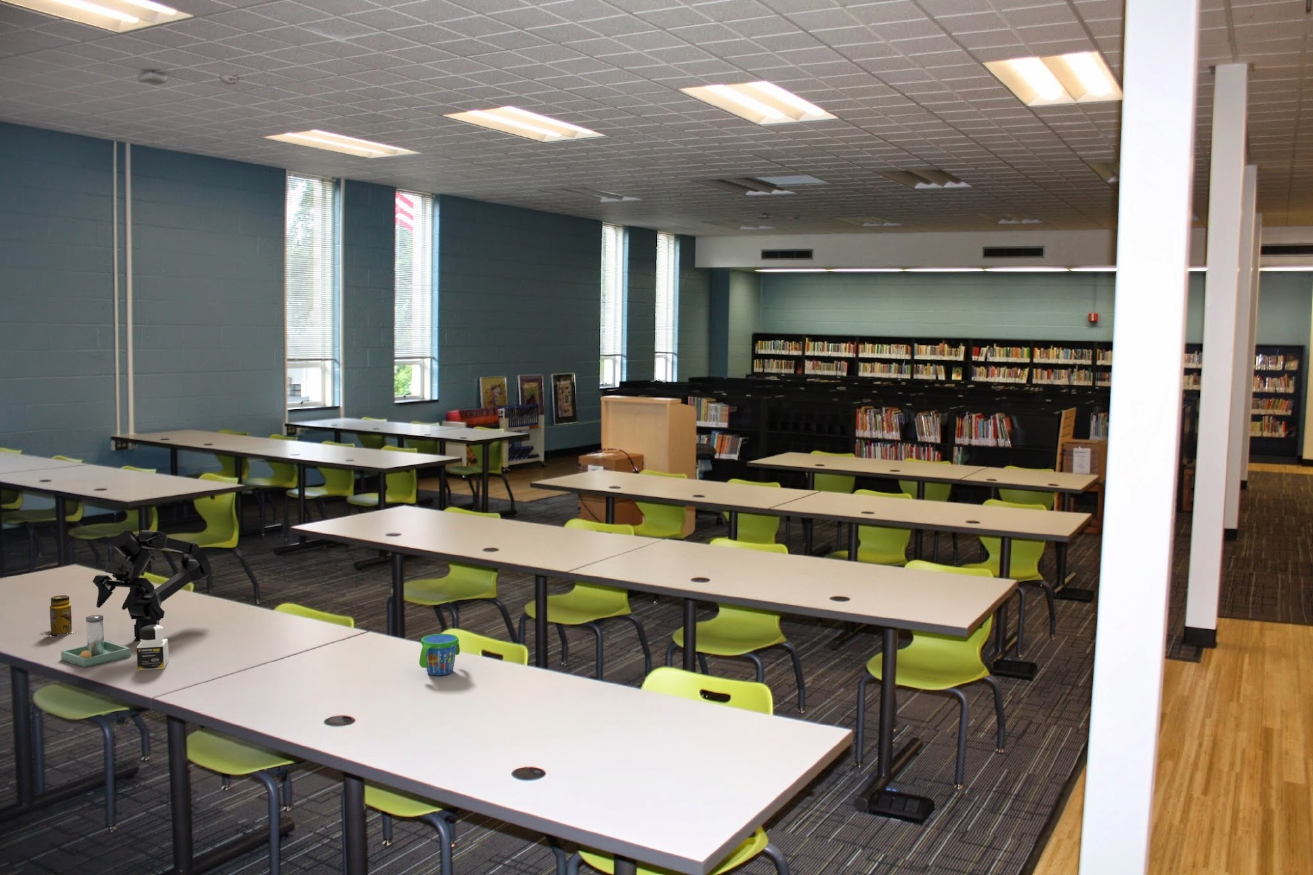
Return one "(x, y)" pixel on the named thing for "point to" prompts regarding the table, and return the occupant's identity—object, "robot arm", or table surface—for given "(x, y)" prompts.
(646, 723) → the table surface
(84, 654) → the ball
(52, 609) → the condiment
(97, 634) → the cylinder
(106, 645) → the tray
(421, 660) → the snack cup
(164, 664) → the medicine bottle
